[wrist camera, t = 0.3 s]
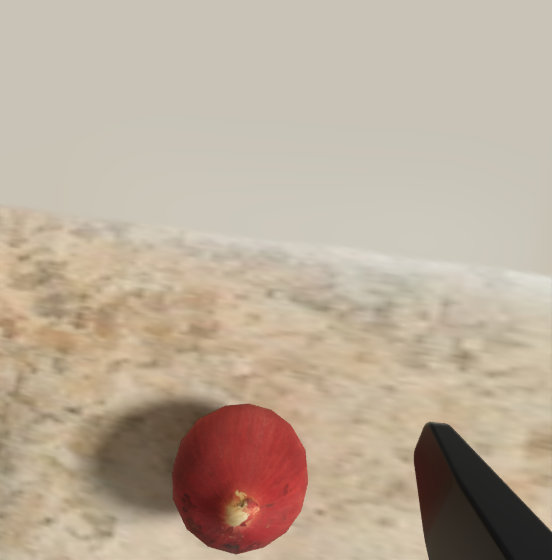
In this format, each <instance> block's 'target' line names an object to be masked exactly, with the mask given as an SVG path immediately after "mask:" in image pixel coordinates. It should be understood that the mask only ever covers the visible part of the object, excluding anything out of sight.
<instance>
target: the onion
mask: <svg viewBox="0 0 552 560" xmlns="http://www.w3.org/2000/svg"><path fill="white" fill-rule="evenodd" d="M172 482H173V500H174V503H175V505H176V507H177V509H178V511H179V513H180V516H181V518H182V520H183V522H184V524H185V526H186V528H187V530H189V531H190V532H191V533H192V534H194V535H195V536H196V537H197V538H198V539H200V540H201V541H202V542H203V543H204V544H206V545H207V546H208V547H211V548H215V549H218V550H222V551H226V552H229V553H233V554H240V553H244V552H247V551H251V550H255V549H259V548H263V547H265V546H267V545H268V544H269V543H271V542H272V541H274V540H275V539H277V538H278V537H280V536H281V535H283V534H284V533H286V532H287V530H288V529H289V527H290V526H291V525H292V523H293V522H294V520H295V519H296V518H297V516H298V515H299V513H300V512H301V509H302V506H303V501H304V497H305V493H306V489H307V485H308V474H307V463H306V452H305V449H304V447H303V445H302V443H301V442H300V440H299V438H298V436H297V435H296V433H295V431H294V429H293V428H292V426H291V425H290V424H289V423H288V422H286V421H285V420H284V419H282V418H281V417H280V416H279V415H277V414H276V413H275V412H273V411H272V410H269V409H266V408H262V407H259V406H255V405H252V404H240V405H229V406H224V407H222V408H220V409H218V410H216V411H214V412H212V413H210V414H208V415H206V416H204V417H202V418H200V419H198V420H197V421H196V423H195V424H194V425H193V427H192V428H191V429H190V430H189V432H188V433H187V434H186V435H185V437H184V438H183V439H182V440H181V443H180V446H179V449H178V453H177V456H176V459H175V462H174V466H173V472H172Z"/></svg>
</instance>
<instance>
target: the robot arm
mask: <svg viewBox="0 0 552 560" xmlns="http://www.w3.org/2000/svg"><path fill="white" fill-rule="evenodd" d="M414 466H415V473H416V481H417V488H418V496H419V503H420V511H421V518H422V525H423V532H424V538H425V544H426V548H427V553H428V557H429V560H552V531H551V530H550V529H549V528H548V527H547V526H546V525H545V524H544V523H543V522H542V521H541V520H540V519H539V518H538V517H537V516H536V515H535V514H534V513H533V512H532V511H531V509H530V508H529V507H528V506H527V505H526V504H525V503H524V502H523V501H522V500H521V499H520V498H519V497H518V496H517V495H516V494H515V493H514V492H513V491H512V490H511V489H510V488H509V486H508V485H507V484H506V483H505V482H504V481H503V480H502V479H501V478H500V477H499V476H498V475H497V474H496V473H495V472H494V471H493V470H492V469H491V468H490V467H489V466H488V465H487V463H486V462H485V461H484V460H483V459H482V458H481V457H480V456H479V455H478V454H477V453H476V452H475V451H474V450H473V449H472V448H471V447H470V446H469V445H468V444H467V443H466V441H465V440H464V439H463V438H462V437H461V436H460V435H459V434H458V433H457V432H456V431H455V430H454V429H453V428H452V427H451V426H450V425H448V424H445V423H435V422H428V423H426V424H425V426H424V428H423V430H422V433H421V435H420V438H419V440H418V443H417V445H416V448H415V451H414Z"/></svg>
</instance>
